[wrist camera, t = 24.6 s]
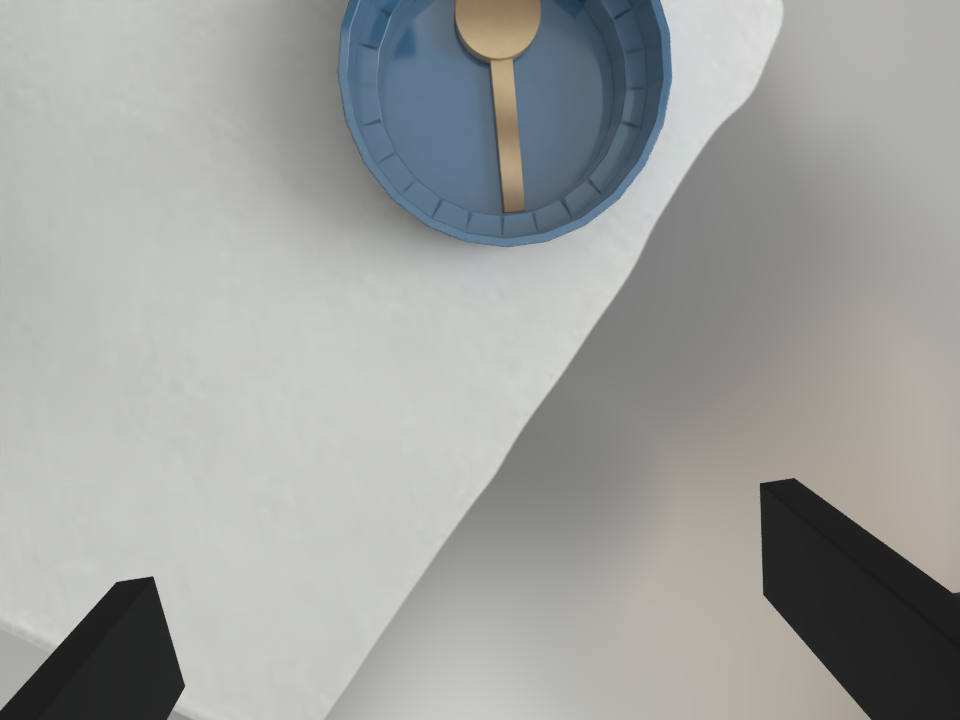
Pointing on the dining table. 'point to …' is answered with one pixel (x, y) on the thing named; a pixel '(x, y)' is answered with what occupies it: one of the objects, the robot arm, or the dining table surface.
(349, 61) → the bowl
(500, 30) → the spoon
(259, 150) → the dining table surface
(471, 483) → the dining table surface
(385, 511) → the dining table surface
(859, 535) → the robot arm
